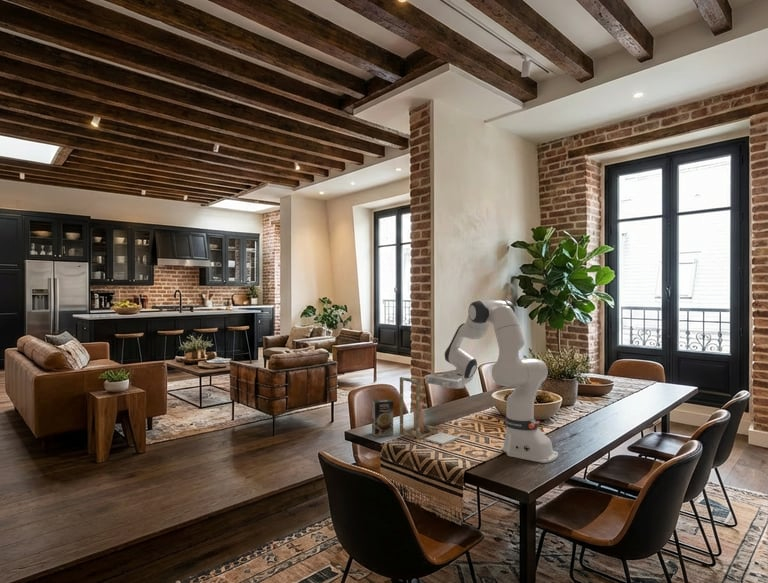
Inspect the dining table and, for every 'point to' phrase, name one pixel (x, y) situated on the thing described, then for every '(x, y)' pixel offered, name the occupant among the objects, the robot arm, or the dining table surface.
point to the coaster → (441, 438)
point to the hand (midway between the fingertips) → (434, 383)
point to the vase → (420, 420)
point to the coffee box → (382, 417)
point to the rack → (426, 428)
